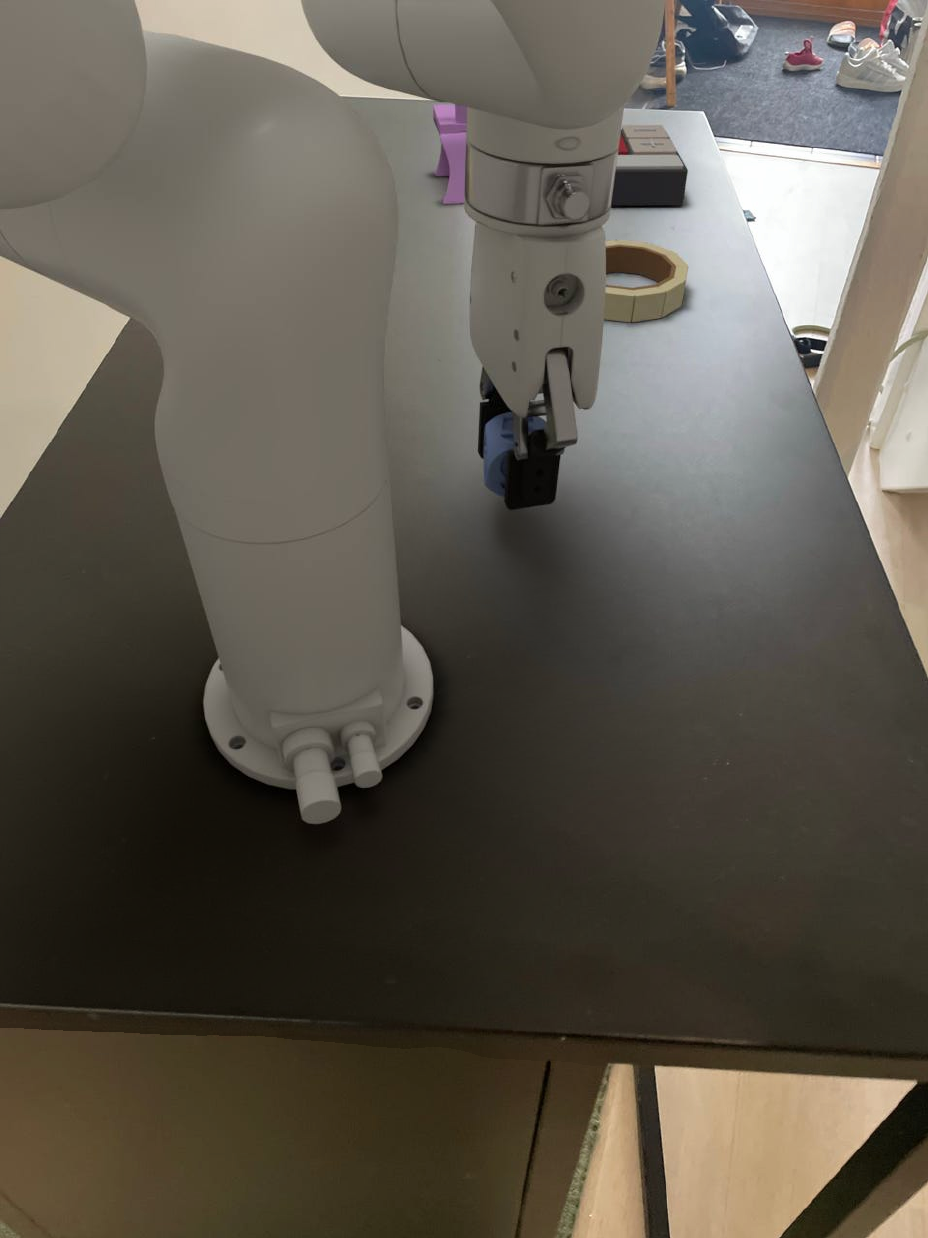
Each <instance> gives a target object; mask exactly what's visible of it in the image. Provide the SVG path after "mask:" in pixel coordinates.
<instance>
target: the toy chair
mask: <svg viewBox="0 0 928 1238" xmlns="http://www.w3.org/2000/svg"><path fill="white" fill-rule="evenodd" d="M432 110H433V111H432V116H433V117H432V118H433V123H434V126H435V127H436V130H437V132H438V135H439V139H440V145H441V146H440V153H439V159H438V164H437V166H436V169H435V173H434V175H435V177H448V178H449V179H448V183H447V184H448V185H447V188H446V191H445V194H444V198H443V200H442V203H443V205H454V204H455V205H457V204H458V205H459V204H464V200H465V158H466V124H467V107H465V106H461V105H457V104H447V103H446V104H444V103H443V104H432Z"/></svg>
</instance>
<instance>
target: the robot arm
mask: <svg viewBox="0 0 928 1238" xmlns="http://www.w3.org/2000/svg"><path fill="white" fill-rule="evenodd" d="M300 4H301V6H302V11H303V14H304V17H305V19H306V22H307V24H308V27H309V29H310V30H311V32H312V34H313V36H314V38H315V40H316V41H317V42H318V44H319V45H320V47H321V48H322V50H323V51H324V52H325V53H326V54H327V55H328V56H329V57H330V59H331V60H332V61H334V62H335V63H336V64H337V65H338V66H339V67H340V68H342V70H345V71H346V72H347V73H349V74H350V75H353V76H354V77H356V78H358V79H360V80H362V81H364V82H367V83H368V84H370V85H371V84H372V85H374V86H377V87H380V88H383V89H386V90H390V91H395V92H399V93H402V94H407V95H411V96H413V97H418V98H422V99H425V100H426V99H427V100H430V101H434V102H438V103H446V104H447V103H449V104H452V105H455V104H457V105H461V106H465V107H467V124H466V158H465V200H464V203H463V209H464V211H465V213H466V215H467V216H468V217H469V218H470V219H471V220H472V221H474V222H475V223H474V233H473V243H472V255H471V269H470V285H469V335H470V342H471V346H472V349H473V351H474V353H475V355H476V357H477V359H478V361H479V362H480V364H481V365H482V367H481V373H480V379H479V394H480V398H481V399H482V400H483V401H480V402H479V414H478V415H479V416H478V436H477V453H478V455H479V457H480V458H481V459H482V460H484V433H485V425H486V424H487V423H488V422H489V421H490V420H491V419H493V418H494V417H496V416H498V415H500V414H503V413H508V412H513V435H514V450H513V451H508V452H507V466H506V480H505V494H504V497H503V503H504V505H505V507H506V509H507V510H508V511H514V510H520V509H527V508H533V507H541V506H548V505H551V504H553V503H554V502H555V501H556V497H557V489H558V480H559V472H560V465H561V464H560V463H561V458H562V457H561V456H563V455H564V453H565V449H566V448H567V447H571V446H574V445H577V443H578V439H579V436H578V434H579V433H578V428H577V427H578V426H577V420H576V419H577V418H576V413H575V406H576V407H577V409H578V410H583V411H584V410H585V411H586V410H590V409H592V408H593V406H594V404H595V403H596V400H597V399H596V398H597V392H598V386H599V378H600V377H599V376H600V368H601V356H602V348H603V347H602V346H603V337H604V325H605V324H604V323H605V319H604V312H605V293H606V284H607V273H606V245H605V241H606V231H605V230H604V228H603V226H604V225H605V224H606V223H607V222H608V221H609V219H610V217H611V211H612V210H611V208H612V206H611V202H612V195H613V187H614V180H615V172H616V165H617V158H618V150H619V141H620V134H621V129H622V126H623V119H624V110H625V105H626V103H627V102H628V101H629V100H630V98H632V96H633V94H635V92H636V91H637V89H638V88H639V87H640V85H641V83H642V82H643V80H644V78H645V76H646V74H647V73H648V71H649V69H650V67H651V64H652V61H653V58H654V56H655V53H656V51H657V48H658V44H659V40H660V36H661V33H662V30H663V29H662V28H663V24H664V17H665V10H666V0H300ZM399 211H400V210H399V197H398V191H397V185H396V180H395V176H394V173H393V169H392V167H391V164H390V161H389V159H388V156H387V154H386V152H385V150H384V148H383V145H382V144H381V142H380V140H379V138H378V137H377V135H376V134H375V132H374V131H373V129H372V127H370V125H369V124H368V123H367V121H366V120H365V119H364V117H362V115H361V114H360V113H359V112H358V111H357V110H356V109H355V108H354V107H353V106H352V105H351V104H350V103H349V102H348V101H346V100H345V98H343V97H342V96H341V95H339V94H338V93H337V92H336V91H334V90H333V89H331V88H329V87H328V86H327V85H325V84H323V83H322V82H320V81H319V80H317V79H316V78H313V77H311V76H309V75H307V74H306V73H303V72H302V71H299V70H298V69H295V68H293V67H291V66H289V65H286V64H285V63H281V62H278V61H276V60H273V59H270V58H268V57H264V56H260V55H258V54H257V55H256V54H253V53H251V52H250V53H249V52H246V51H242V50H238V49H234V48H230V47H226V46H222V45H219V44H214V43H211V42H206V41H202V40H198V39H196V38H195V39H194V38H190V37H186V36H182V35H178V34H173V33H164V32H155V31H151V30H146V29H144V28H143V24H142V20H141V17H140V14H139V10H138V7H137V3H136V0H0V257H1V258H3V259H5V260H8V261H11V262H12V263H15V264H17V265H19V266H21V267H22V268H25V269H26V270H27V269H28V270H29V271H32V272H34V273H36V274H38V275H41V276H43V277H46V278H47V279H49V280H51V281H53V282H55V283H57V284H60V285H62V286H64V287H66V288H69V289H71V290H73V291H75V292H77V293H80V294H82V295H84V296H85V297H89V298H91V299H93V300H95V301H97V302H99V303H102V304H103V305H106V306H107V307H108V308H110V309H112V310H113V311H115V312H117V313H119V314H121V315H124V316H126V317H128V318H130V319H132V320H134V321H136V322H138V323H139V324H141V325H142V326H144V327H145V328H146V329H147V330H148V331H149V332H150V333H151V334H152V336H153V337H154V339H155V341H156V343H157V345H158V347H159V350H160V353H161V357H162V362H163V378H162V385H161V389H160V392H159V396H158V400H157V403H156V407H155V408H156V409H155V413H154V415H155V416H154V425H153V427H154V428H153V429H154V441H155V447H156V453H157V457H158V462H159V465H160V469H161V473H162V477H163V480H164V484H165V487H166V490H167V494H168V497H169V500H170V503H171V505H172V507H173V509H174V512H175V515H176V519H177V523H178V525H179V530H180V532H181V536H182V540H183V543H184V546H185V549H186V553H187V556H188V559H189V563H190V567H191V570H192V574H193V576H194V580H195V583H196V586H197V590H198V593H199V596H200V600H201V604H202V607H203V609H204V613H205V616H206V620H207V623H208V626H209V630H210V633H211V636H212V640H213V643H214V646H215V651H216V653H217V656H218V657H217V659H216V661H215V662H214V664H213V666H212V667H211V669H210V673H209V674H208V677H207V680H206V683H205V685H204V692H203V693H204V694H203V699H202V704H203V712H204V720H205V722H206V726H207V728H208V732H209V735H210V737H211V740H212V741H213V743H214V745H215V747H216V748H217V751H218V752H219V753H220V754H221V755H222V756H223V758H225V759H226V760H227V762H228V763H229V764H230V765H231V766H232V767H233V768H235V769H237V770H238V771H239V772H241V773H242V774H243V775H245V776H247V777H249V778H251V779H254V780H256V781H258V782H261V783H263V784H266V785H268V786H273V787H277V788H282V789H287V790H296V795H297V801H298V806H299V807H298V808H299V812H300V816H301V817H300V818H301V820H302V821H303V822H305V823H306V824H310V825H320V824H321V825H322V824H325V823H329V822H330V821H333V820H335V819H336V818H337V817H338V816H339V815H340V814H341V812H342V804H341V800H340V795H339V790H338V788H339V787H343V786H346V785H350V784H354V785H355V786H356V787H358V788H361V789H367V788H372V787H375V786H377V785H378V784H379V783H380V782H381V781H382V780H383V773H382V771H383V770H384V769H386V768H387V767H389V766H390V765H392V764H393V763H395V762H396V761H398V760H399V759H400V758H401V757H402V756H403V755H404V754H405V753H406V752H407V751H408V750H409V749H410V748H411V747H412V746H413V745H414V744H415V742H416V741H417V739H418V738H419V737H420V735H421V733H422V732H423V731H424V729H425V727H426V724H427V722H428V720H429V717H430V715H431V713H432V706H433V701H434V695H435V694H434V693H435V692H434V676H433V670H432V666H431V661H430V659H429V658H428V657H429V656H428V655H427V653H426V651H425V649H424V647H423V645H422V644H421V643H420V642H419V640H418V639H417V638H416V636H415V635H414V634H413V633H412V632H410V631H409V630H408V629H407V628H406V627H404V626H403V625H402V620H401V619H402V618H401V608H400V594H399V583H398V581H399V580H398V570H397V557H396V544H395V542H396V541H395V532H394V531H395V529H394V518H393V517H394V515H393V504H392V491H391V478H390V467H389V460H388V459H389V457H388V445H387V429H386V412H385V375H384V374H385V371H384V369H385V352H386V351H385V349H386V347H385V346H386V335H387V324H388V317H389V306H390V300H391V294H392V287H393V281H394V280H393V279H394V273H395V267H396V261H397V260H396V259H397V258H396V257H397V250H398V240H399V215H400V214H399V213H400V212H399ZM541 394H542V395H543V399H539V400H536V399H537V396H538V395H541ZM485 400H487V401H485ZM536 416H539V417H543V416H545V419H546V420H545V421H546V426H545V427H544V428H543V429H539V430H534V431H533V432H532V433H531V434H530V435H528V418H529V417H536Z"/></svg>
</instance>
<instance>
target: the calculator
mask: <svg viewBox="0 0 928 1238" xmlns="http://www.w3.org/2000/svg"><path fill="white" fill-rule="evenodd" d="M688 172H689V170H688V168H687V165H686V164H685V162H684V160H683V159H682V157H681V155H680V153H679V151H678V150H677V149H676V146H675V145H674V142H673V141H672V139H671V137H670V135H669V134H668V132H667V131H666V129H665V127H664V125H662V124H624V125H623V124H622V126H621V134H620V141H619V150H618V158H617V165H616V172H615V180H614V187H613V195H612V202H611V207H612V206H614V207H615V206H616V207H617V206H682V205H683V204H684V198H685V192H686V186H687V178H688Z"/></svg>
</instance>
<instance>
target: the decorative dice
mask: <svg viewBox="0 0 928 1238" xmlns="http://www.w3.org/2000/svg"><path fill="white" fill-rule="evenodd" d="M546 421H547V420H545V419H544V418H542V416H536V417H529V418H528V435H530V434H531V433H532V432H533V431H534V430H539V429H543V428H544V427H545V426H546ZM513 450H514V435H513V412H508V413H503V414H500V415H498V416H496V417H494V418H493V419H491V420H490V421H489V422H488V423H487V424H486V425H485V433H484V459H483V483H484V486H485V488H487V489H488V490H489V492H491V493H493V494H495V495H497V496H499V497H500V498H501V497H502V498H504V494H505V480H506V466H507V452H508V451H513Z"/></svg>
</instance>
